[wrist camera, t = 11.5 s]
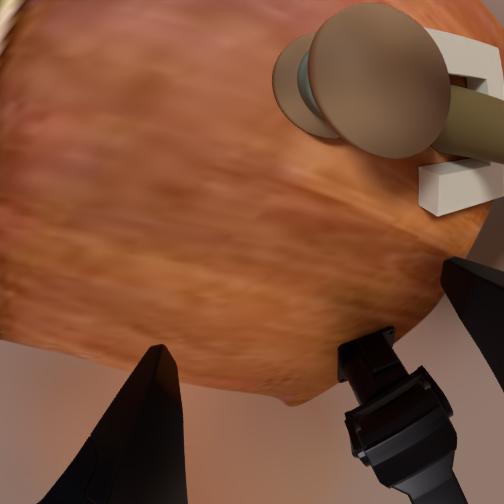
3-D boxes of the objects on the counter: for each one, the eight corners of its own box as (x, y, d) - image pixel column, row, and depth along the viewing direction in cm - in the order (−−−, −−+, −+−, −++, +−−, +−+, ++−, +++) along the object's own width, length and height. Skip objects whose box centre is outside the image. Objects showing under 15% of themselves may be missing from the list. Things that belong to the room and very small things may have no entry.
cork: (419, 75, 16) (543, 88, 6) (467, 90, 16) (572, 114, 7) (418, 150, 18) (534, 201, 9) (465, 155, 19) (563, 201, 9)
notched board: (486, 187, 21) (503, 196, 19) (418, 205, 21) (437, 216, 18) (478, 47, 14) (498, 48, 12) (400, 31, 14) (421, 27, 12)
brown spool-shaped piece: (379, 129, 17) (455, 150, 11) (284, 145, 17) (333, 171, 11) (362, 34, 14) (436, 14, 7) (260, 40, 14) (297, -1, 7)
